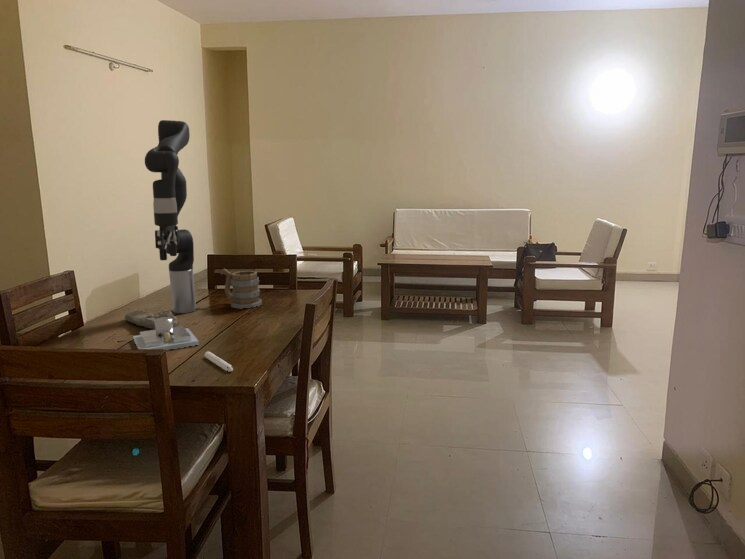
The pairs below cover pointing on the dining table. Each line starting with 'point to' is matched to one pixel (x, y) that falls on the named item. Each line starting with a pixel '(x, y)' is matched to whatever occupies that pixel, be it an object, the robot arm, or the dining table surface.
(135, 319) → the long grey stone
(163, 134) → the robot arm
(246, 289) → the tankard
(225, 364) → the marker
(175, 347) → the base plate
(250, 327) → the dining table surface
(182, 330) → the flange plate
